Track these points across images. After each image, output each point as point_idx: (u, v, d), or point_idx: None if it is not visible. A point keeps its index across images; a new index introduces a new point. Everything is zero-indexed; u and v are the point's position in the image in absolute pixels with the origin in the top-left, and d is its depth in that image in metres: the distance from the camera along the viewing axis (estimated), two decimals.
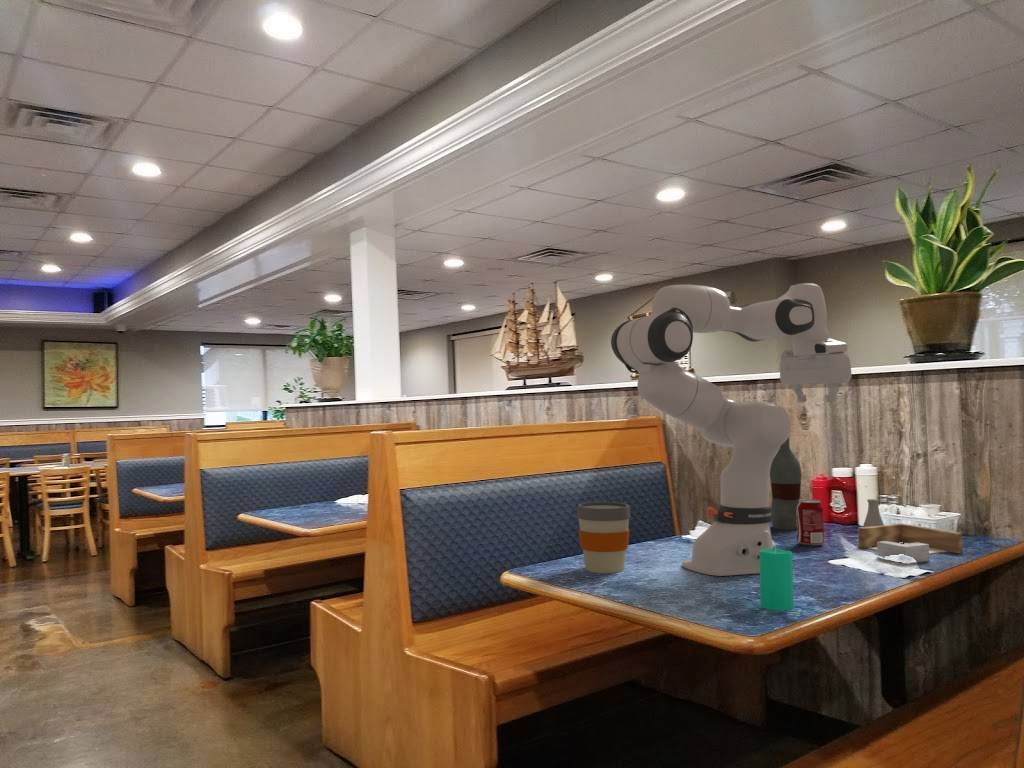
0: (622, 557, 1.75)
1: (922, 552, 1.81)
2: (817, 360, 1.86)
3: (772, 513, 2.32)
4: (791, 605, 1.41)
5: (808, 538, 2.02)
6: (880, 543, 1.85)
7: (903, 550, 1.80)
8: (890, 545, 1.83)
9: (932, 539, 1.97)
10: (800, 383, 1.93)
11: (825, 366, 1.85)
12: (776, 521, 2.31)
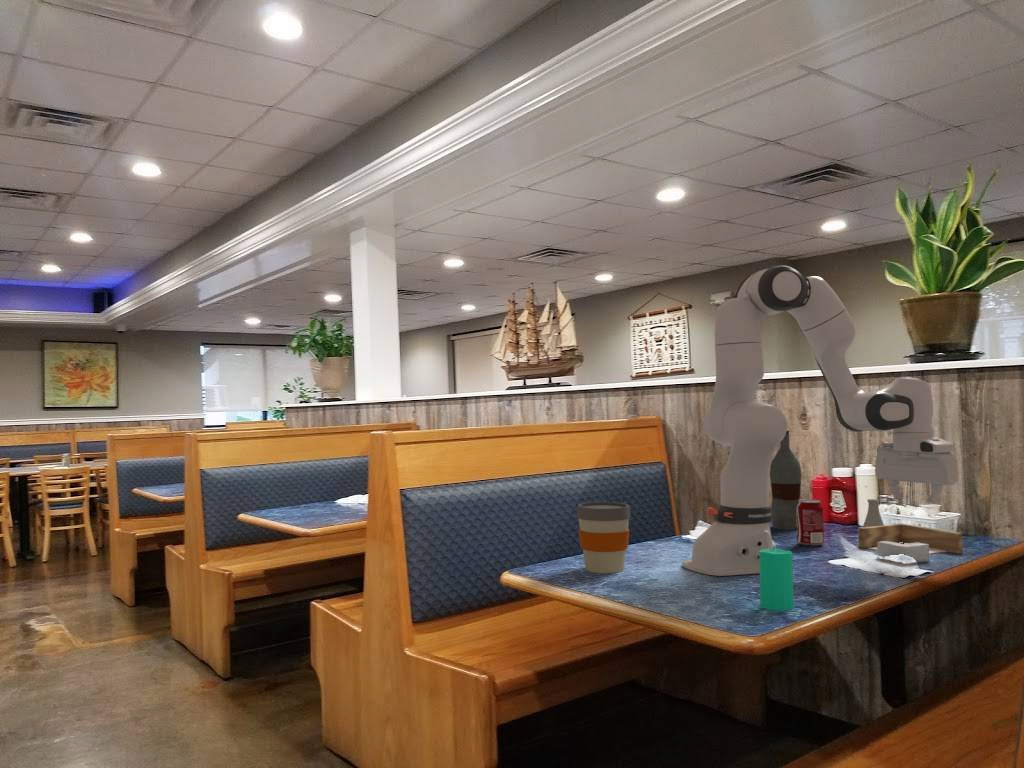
0: (622, 557, 1.75)
1: (922, 552, 1.81)
2: (921, 458, 1.79)
3: (772, 513, 2.32)
4: (791, 605, 1.41)
5: (808, 538, 2.02)
6: (880, 543, 1.85)
7: (903, 550, 1.80)
8: (890, 545, 1.83)
9: (932, 539, 1.97)
10: (899, 479, 1.85)
11: (929, 466, 1.78)
12: (776, 521, 2.31)
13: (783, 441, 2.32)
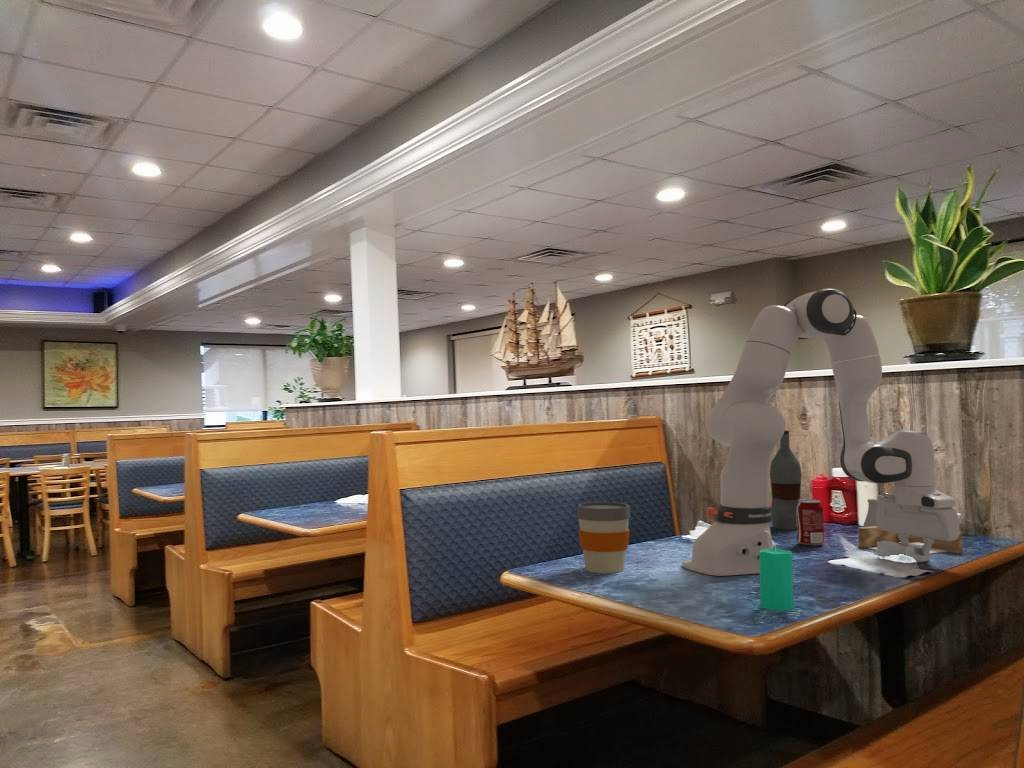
0: (622, 557, 1.75)
1: None
2: (922, 512, 1.79)
3: (772, 513, 2.32)
4: (791, 605, 1.41)
5: (808, 538, 2.02)
6: (880, 543, 1.85)
7: (903, 549, 1.80)
8: (890, 545, 1.83)
9: None
10: (899, 532, 1.85)
11: (931, 520, 1.77)
12: (776, 521, 2.31)
13: (783, 441, 2.32)
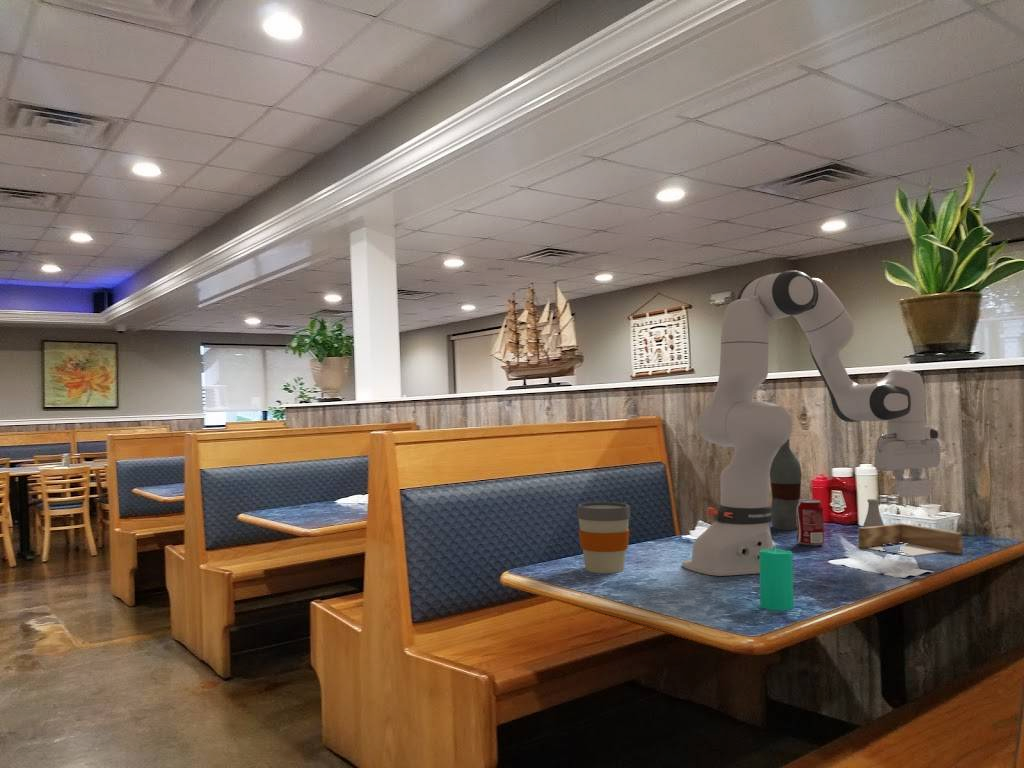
0: (622, 557, 1.75)
1: None
2: (924, 445, 1.93)
3: (772, 513, 2.32)
4: (791, 605, 1.41)
5: (808, 538, 2.02)
6: (911, 482, 1.86)
7: (929, 482, 1.89)
8: (919, 481, 1.88)
9: (932, 539, 1.97)
10: (905, 468, 1.91)
11: (926, 451, 1.95)
12: (776, 521, 2.31)
13: None
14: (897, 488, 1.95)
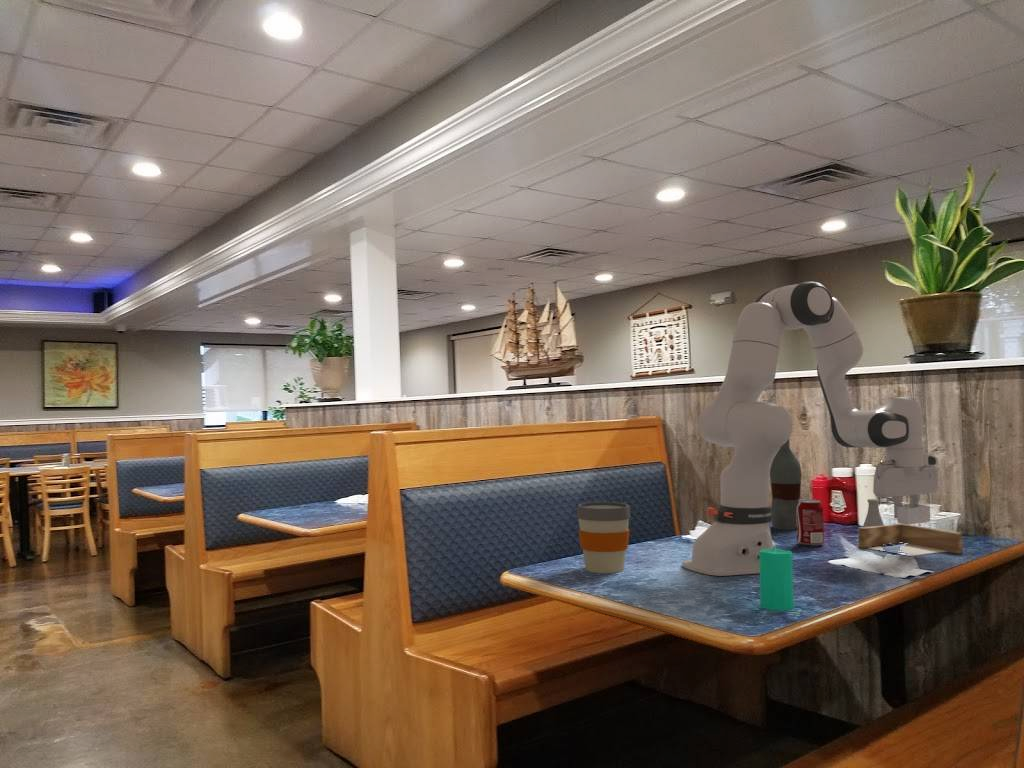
0: (622, 557, 1.75)
1: None
2: (922, 471, 1.95)
3: (772, 513, 2.32)
4: (791, 605, 1.41)
5: (808, 538, 2.02)
6: (910, 509, 1.88)
7: (927, 509, 1.91)
8: (918, 508, 1.89)
9: (932, 539, 1.97)
10: (903, 495, 1.93)
11: (924, 477, 1.96)
12: (776, 521, 2.31)
13: None
14: (895, 514, 1.97)
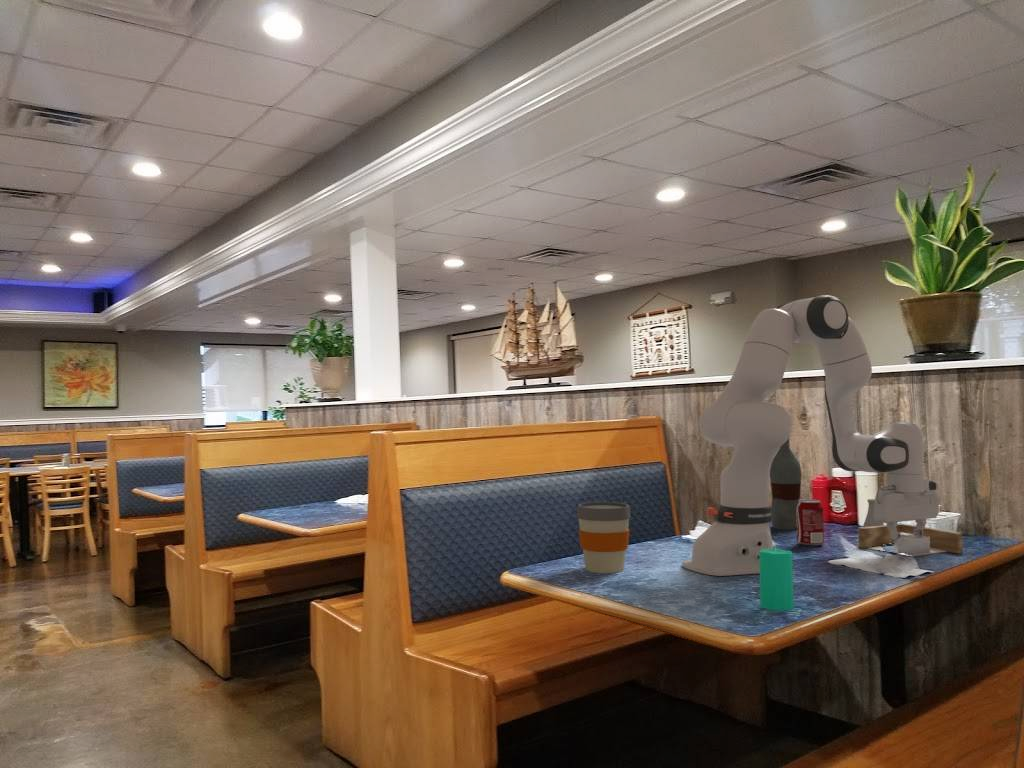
0: (622, 557, 1.75)
1: None
2: (922, 496, 1.95)
3: (772, 513, 2.32)
4: (791, 605, 1.41)
5: (808, 538, 2.02)
6: (910, 540, 1.88)
7: (927, 540, 1.90)
8: (918, 539, 1.89)
9: (932, 539, 1.97)
10: (904, 520, 1.92)
11: (925, 503, 1.96)
12: (776, 521, 2.31)
13: None
14: (895, 544, 1.96)
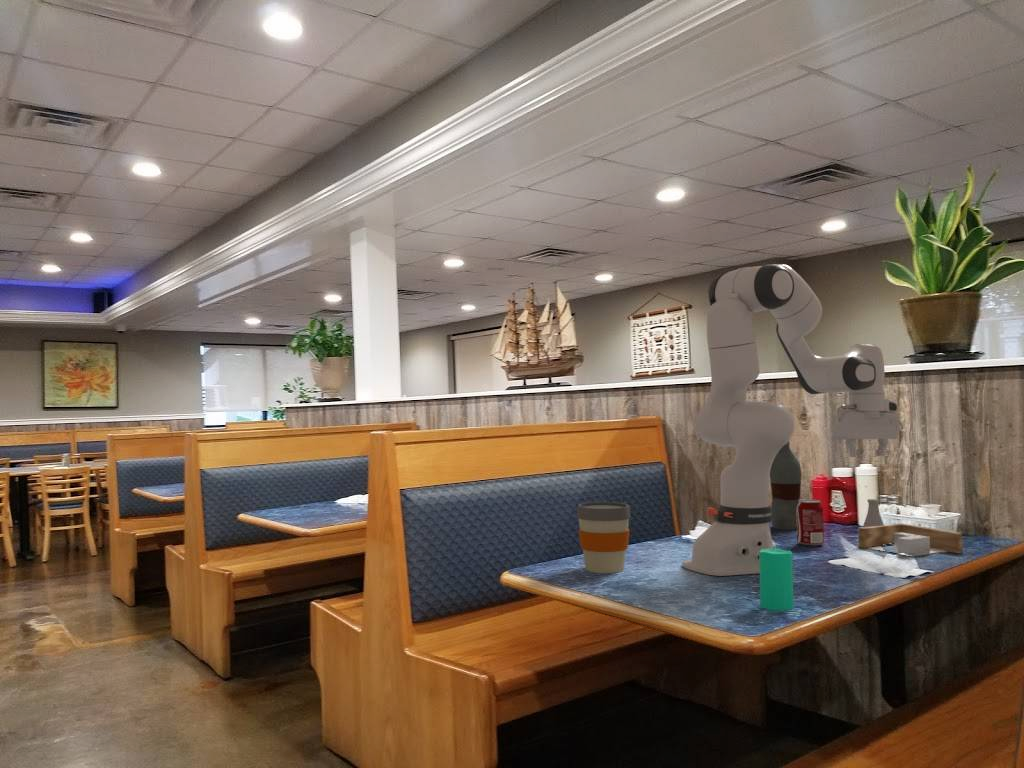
0: (622, 557, 1.75)
1: None
2: (883, 416, 2.02)
3: (772, 513, 2.32)
4: (791, 605, 1.41)
5: (808, 538, 2.02)
6: (910, 540, 1.88)
7: (927, 540, 1.90)
8: (918, 539, 1.89)
9: (932, 539, 1.97)
10: (863, 438, 1.99)
11: (885, 423, 2.03)
12: (776, 521, 2.31)
13: None
14: (895, 544, 1.96)
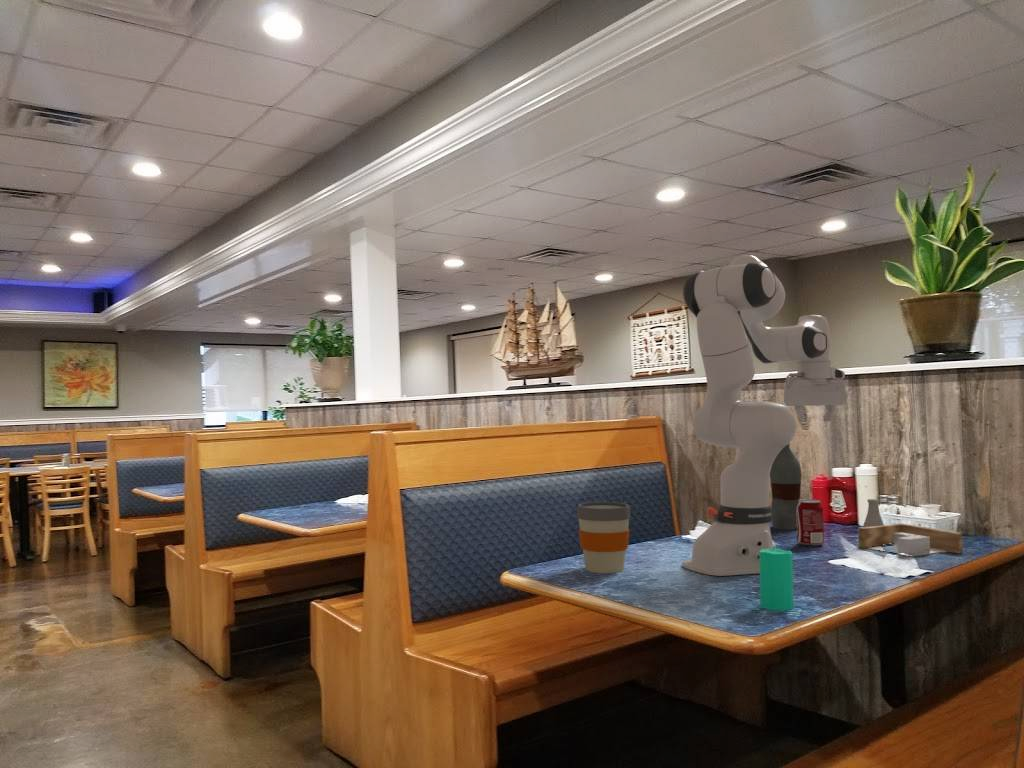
0: (622, 557, 1.75)
1: None
2: (829, 383, 2.12)
3: (772, 513, 2.32)
4: (791, 605, 1.41)
5: (808, 538, 2.02)
6: (910, 540, 1.88)
7: (927, 540, 1.90)
8: (918, 539, 1.89)
9: (932, 539, 1.97)
10: (811, 404, 2.09)
11: (832, 390, 2.13)
12: (776, 521, 2.31)
13: None
14: (895, 544, 1.96)
